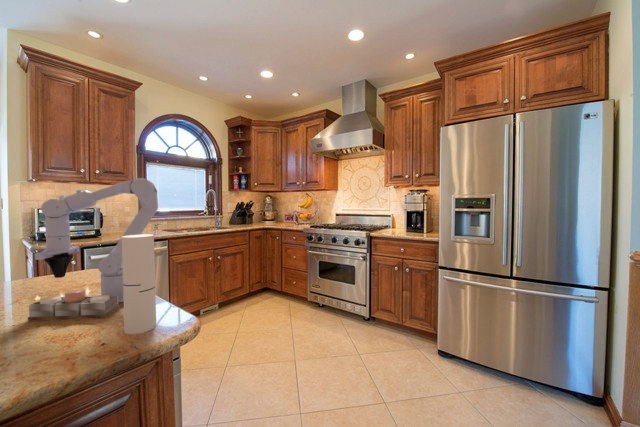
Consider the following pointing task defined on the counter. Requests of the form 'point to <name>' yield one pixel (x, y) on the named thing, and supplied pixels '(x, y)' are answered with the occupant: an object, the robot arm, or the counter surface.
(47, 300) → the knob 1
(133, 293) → the cylindrical container
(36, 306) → the mount
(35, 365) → the counter surface
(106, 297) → the knob
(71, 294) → the middle knob
